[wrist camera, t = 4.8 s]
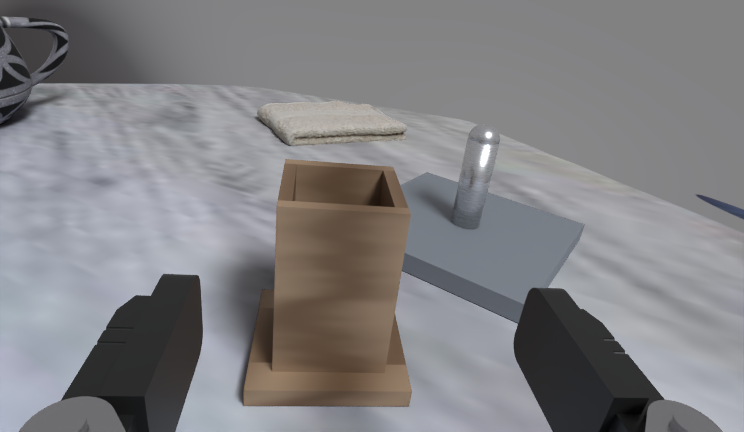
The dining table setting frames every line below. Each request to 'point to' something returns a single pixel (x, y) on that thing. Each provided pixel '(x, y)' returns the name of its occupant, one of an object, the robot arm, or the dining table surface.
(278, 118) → the washcloth
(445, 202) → the post plate
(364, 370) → the flanged sleeve
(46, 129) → the dining table surface
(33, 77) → the teapot
